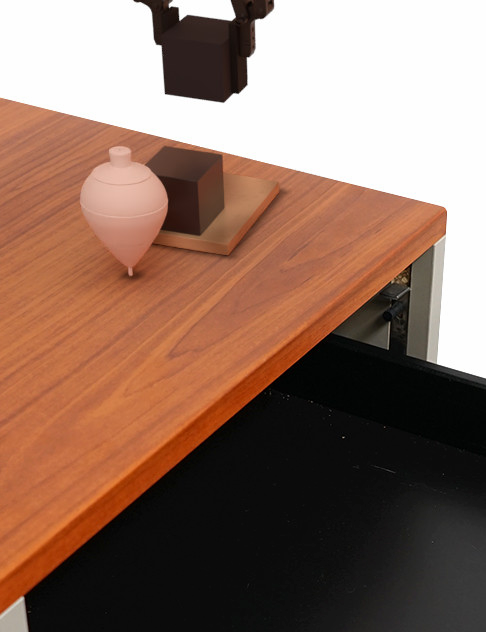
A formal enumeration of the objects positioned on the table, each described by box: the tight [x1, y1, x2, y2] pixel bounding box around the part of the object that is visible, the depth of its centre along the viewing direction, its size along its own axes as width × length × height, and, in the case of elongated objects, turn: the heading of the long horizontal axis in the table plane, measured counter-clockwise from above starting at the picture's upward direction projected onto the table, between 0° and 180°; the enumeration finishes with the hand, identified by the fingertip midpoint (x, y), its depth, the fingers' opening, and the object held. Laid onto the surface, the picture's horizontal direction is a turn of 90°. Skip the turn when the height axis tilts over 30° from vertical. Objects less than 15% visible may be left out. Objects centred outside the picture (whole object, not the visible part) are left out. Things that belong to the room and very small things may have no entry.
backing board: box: [144, 145, 280, 256], centre depth 138 cm, size 12×16×7 cm
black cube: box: [161, 14, 249, 104], centre depth 134 cm, size 6×7×6 cm
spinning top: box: [79, 145, 168, 277], centre depth 125 cm, size 8×8×12 cm
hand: (206, 83), depth 136 cm, fingers closed on black cube, 6 cm apart
